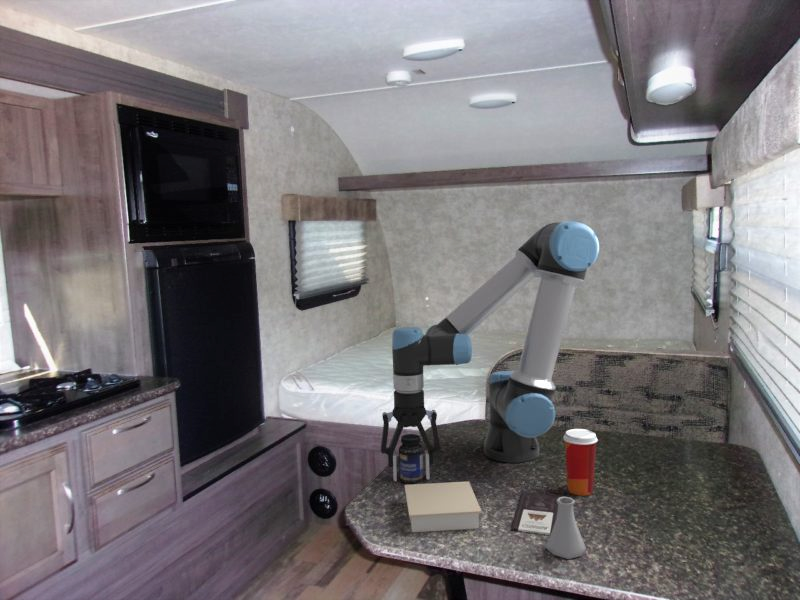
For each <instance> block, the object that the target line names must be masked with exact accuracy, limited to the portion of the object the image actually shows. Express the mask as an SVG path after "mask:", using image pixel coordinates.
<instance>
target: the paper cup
mask: <svg viewBox="0 0 800 600" xmlns="http://www.w3.org/2000/svg"><path fill="white" fill-rule="evenodd" d="M563 440H564V447H565V462H566V463H565V467H566V479H567V482H566V483H567V490H568V492H569V493H570V494H573V495H575V496H579V497H580V496H581V497H582V496H583V497H586V496H587V497H588V496H590V495H592V494H593V492H594V491H593V490H594V480H595V468H596V467H595V466H596V449H597V442H599V441H598V440H599V439H598V438H597V435H596V432H593V431H591V430H589V429H585V428H571V429H568V430H566V431H565V434H564V435H563Z"/></svg>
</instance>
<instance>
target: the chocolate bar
mask: <svg viewBox="0 0 800 600" xmlns="http://www.w3.org/2000/svg"><path fill="white" fill-rule="evenodd" d="M559 497H563V495H555V494H547V493H538V492H529V491H528V492H527V491H522V492H521V496H520V499H519V503H518V506H517V509H516V511H515V512H516V513H515V517H514V519H513V523H512V527H511V531H512V530H514V531H513V532H518V531H522V532H521V533H526V532H530V533H529V534H534V533H537V534H536V535H542V534H545V536H550V535H551V532H552V530H553V527H554V524H555V522H556V519H557V514H558V503H557V499H558V498H559ZM538 533H539V534H538Z"/></svg>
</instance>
